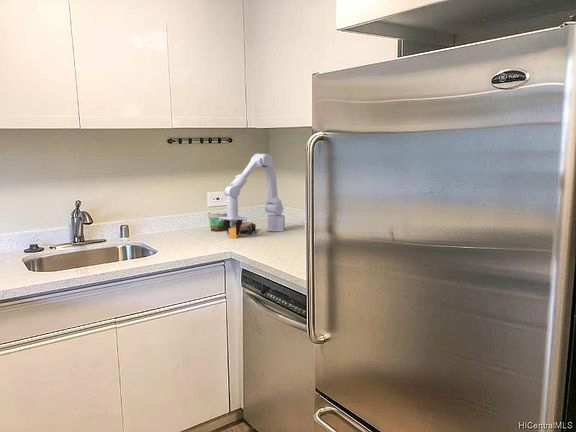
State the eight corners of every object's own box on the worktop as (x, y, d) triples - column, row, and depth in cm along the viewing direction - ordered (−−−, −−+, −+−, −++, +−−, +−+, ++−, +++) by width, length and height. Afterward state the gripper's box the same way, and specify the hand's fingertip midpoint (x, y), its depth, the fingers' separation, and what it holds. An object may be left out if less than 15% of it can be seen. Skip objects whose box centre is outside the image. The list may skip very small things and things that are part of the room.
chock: (240, 235, 247) (239, 225, 246) (236, 238, 239) (235, 228, 238) (233, 234, 248) (232, 225, 247) (228, 238, 240) (228, 228, 239)
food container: (204, 231, 258) (203, 213, 256) (209, 229, 264) (208, 212, 262) (224, 232, 254) (224, 214, 253) (229, 230, 260) (228, 212, 258)
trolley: (255, 230, 260) (255, 217, 259) (250, 234, 247) (249, 222, 246) (234, 229, 262) (233, 217, 261) (227, 234, 249) (227, 221, 248)
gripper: (216, 210, 236) (217, 235, 238) (244, 210, 234) (244, 236, 236) (220, 207, 243) (221, 233, 245) (247, 208, 241) (248, 233, 243)
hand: (233, 234), depth 241 cm, fingers closed on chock, 4 cm apart
